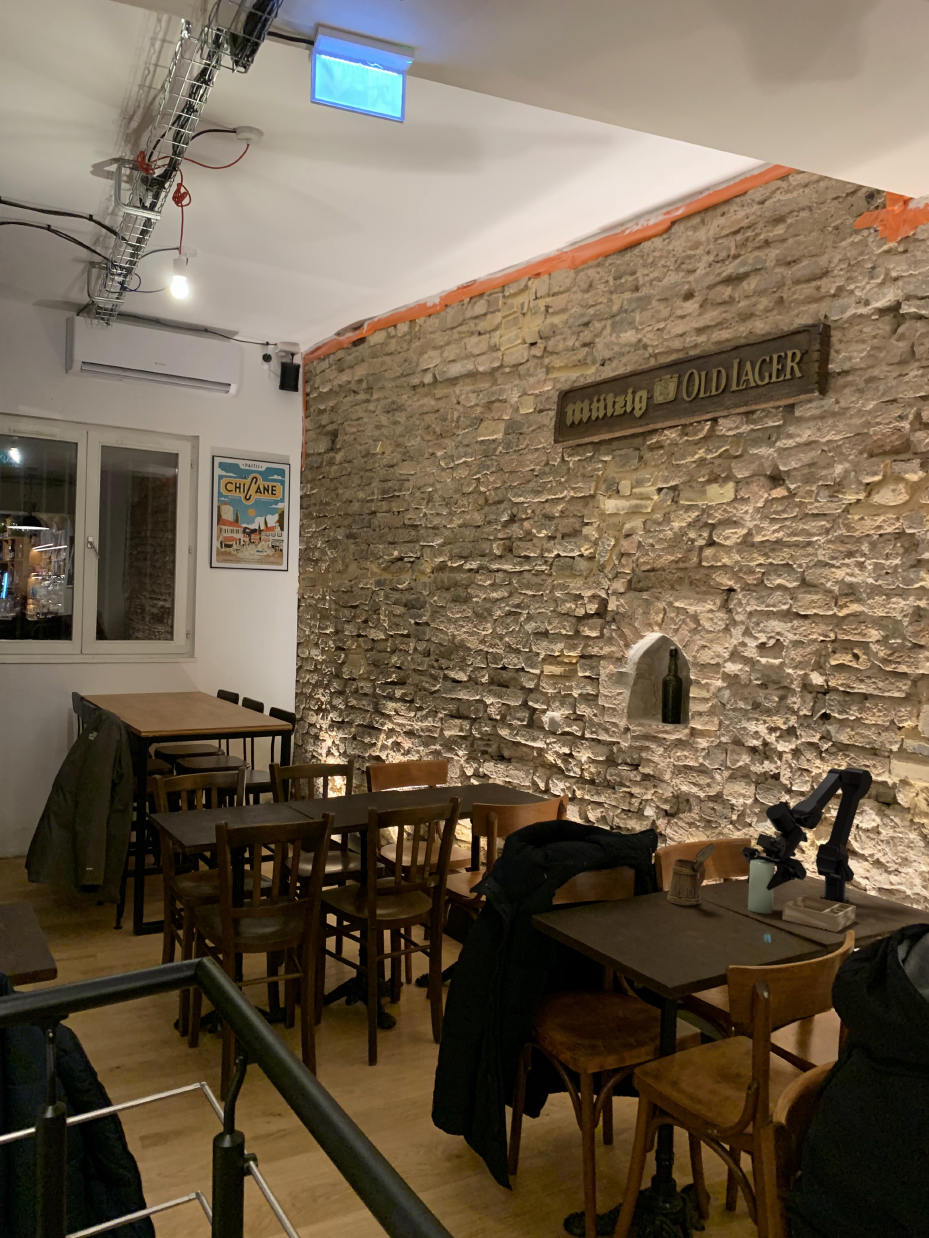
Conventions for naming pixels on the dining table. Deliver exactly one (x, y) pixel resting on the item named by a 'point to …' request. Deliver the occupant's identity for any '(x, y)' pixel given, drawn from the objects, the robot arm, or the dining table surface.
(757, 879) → the pale green cylinder
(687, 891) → the wooden mug
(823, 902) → the tray
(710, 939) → the dining table surface
